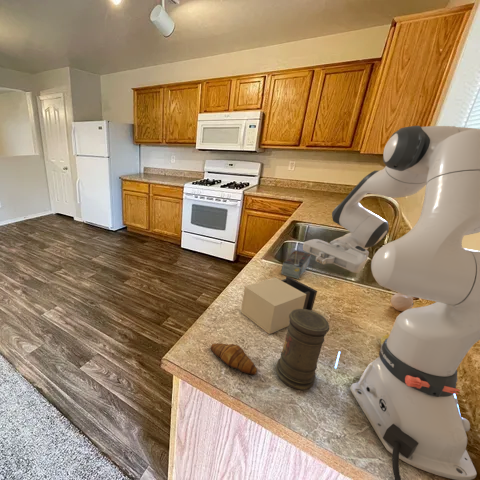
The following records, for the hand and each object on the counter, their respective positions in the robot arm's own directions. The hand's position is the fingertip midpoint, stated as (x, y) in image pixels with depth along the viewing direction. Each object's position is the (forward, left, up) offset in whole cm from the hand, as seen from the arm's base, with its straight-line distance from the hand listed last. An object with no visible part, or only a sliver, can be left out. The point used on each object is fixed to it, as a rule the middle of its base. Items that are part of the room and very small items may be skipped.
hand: (319, 260), depth 94 cm
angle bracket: (-8, +8, -16) cm, 20 cm away
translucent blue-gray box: (+27, +2, -17) cm, 32 cm away
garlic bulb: (+6, -30, -17) cm, 35 cm away
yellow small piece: (-19, -20, -17) cm, 33 cm away
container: (-39, +10, -17) cm, 44 cm away
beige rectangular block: (-15, +15, -17) cm, 27 cm away
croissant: (-40, +25, -17) cm, 50 cm away
